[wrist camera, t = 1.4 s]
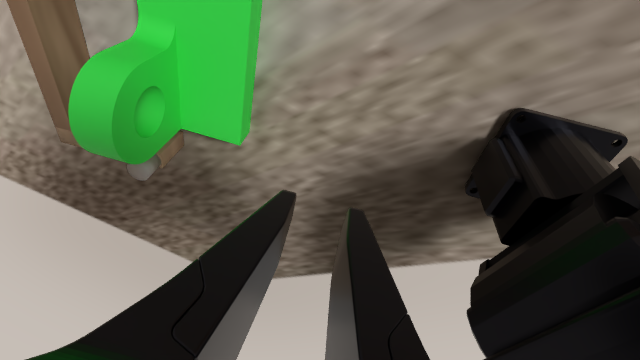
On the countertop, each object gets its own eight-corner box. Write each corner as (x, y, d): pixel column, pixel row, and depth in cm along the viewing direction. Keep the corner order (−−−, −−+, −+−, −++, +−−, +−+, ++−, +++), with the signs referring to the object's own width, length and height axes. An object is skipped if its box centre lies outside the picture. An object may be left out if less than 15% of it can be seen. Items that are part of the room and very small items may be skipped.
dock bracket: (150, -205, 13) (65, -251, 10) (184, 146, 24) (149, 182, 21) (-17, -245, 13) (-159, -305, 10) (92, 122, 25) (43, 155, 21)
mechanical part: (250, 130, 23) (198, 207, 17) (168, 106, 23) (85, 174, 17) (271, -83, 15) (190, -89, 9) (148, -120, 15) (-17, -150, 9)
